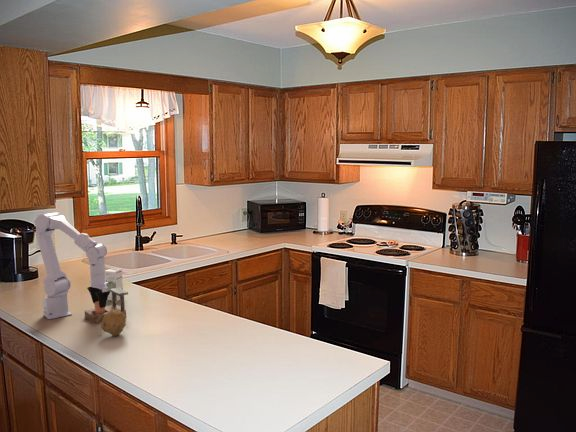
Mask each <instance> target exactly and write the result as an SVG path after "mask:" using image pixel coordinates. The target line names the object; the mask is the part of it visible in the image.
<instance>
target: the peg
mask: <svg viewBox="0 0 576 432" xmlns="http://www.w3.org/2000/svg"><path fill="white" fill-rule="evenodd" d="M93 304H94V309H95V314H101V313H105V307H103V308H100V306H99V301H97V302H95V303H93Z"/></svg>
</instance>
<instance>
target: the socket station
mask: <svg viewBox="0 0 576 432" xmlns="http://www.w3.org/2000/svg"><path fill="white" fill-rule="evenodd" d="M110 292H112V301H111V302H112V305H106V307H105V313H101V314H95V308H92V309H87V310H84V318H85V319H86V320H88V321H89V322H90V323H92V324H93V325H98V324H101V322H102V320H103V318H104V316H105V314H106V313H108V312H109V311H112V310H117V311H121V312H122V313H123V314H124V315H125V317H126V318H127V309H126V308H125V296H126V295H129V292H128V291H127V290H125V289H124V288H123V289H121V288H119V287H118V288H112V289H110ZM116 295H118V296H120V300H119V301H120V303H119V304H120V306H119V305H118V304H117V301H116Z"/></svg>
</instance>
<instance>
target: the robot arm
mask: <svg viewBox="0 0 576 432" xmlns="http://www.w3.org/2000/svg"><path fill="white" fill-rule="evenodd" d="M34 226H35V236H36V240H37V243H38V246H39V250H40V254H41V255H40V256H41V257H42V261H43V264H44V265H43V266H44V268H45V271H46V276H45V277H44V279H43V283H44V286H43V290H44V292H45V294H46V295H47V296H44V297H43V298H42V306H43V307H42V309H43V316H44V317H45V318H46V319H47V320H51V319H52V320H53V319H57V318H62V317H63V318H64V317H67V316H72V313H71V312H70V311H69V303H68V302H69V301H68V293H69V290H70V288H71V281H70V279H69V277H68V276H67V274H66V272H64V271H63V270H61V267H60V263H59V260H58V256H57V253H56V250H55V245H54V242H53V238H52V235H53V233H54V232H55V231H56V230H59V231H61V232H63V233H64V234H66V235H67V236H68V237H70V239H72V240H74V242H73V243H74V244H75V246H77V247H79V249H81V250H82V251H84V252H85V255H86V258H87V259H88V263H89V272H90V274H89V275H90V280H89V286H88V287H87V290H88V292H89V294H90V297H91V300H92V303H93V304H94V303H95V302H97V301H99V306H100V308H103V307H106V306H107V298H108V296H109V294H110V291H109V290H107V286H106V285H107V284H108V282H106V280H105V271H106V264H105V263H106V261H105V257H106V256H107V253H108V248H107V247H106V245H104V243H99V242H98V241H96V240H93V239H92V238H91V237H90V236H89V234H88V233H84V232H81V233H80V231H78V229H76V228H75V227H74V226H73V225H72V224H71V223H70V222H69V221H67V220H66V216H65V215H63V214H61V213H60V212H59V211H53V212H49V213H40V214H39V215H37V216H36V218H35V219H34Z"/></svg>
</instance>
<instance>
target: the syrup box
mask: <svg viewBox="0 0 576 432" xmlns="http://www.w3.org/2000/svg"><path fill="white" fill-rule="evenodd" d="M105 282H108V284H107V285H106V286H107V290H109V291H110V289H112V288H118V287H119V288H121V289H123V290H124V284H123V283H124V282H123V269H122V268H109V269H105ZM107 300H108V301H110V302H112V292H110V294H109V296H108V298H107ZM118 300H119V301H120V296H118V295H116V302H119V301H118Z"/></svg>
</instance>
